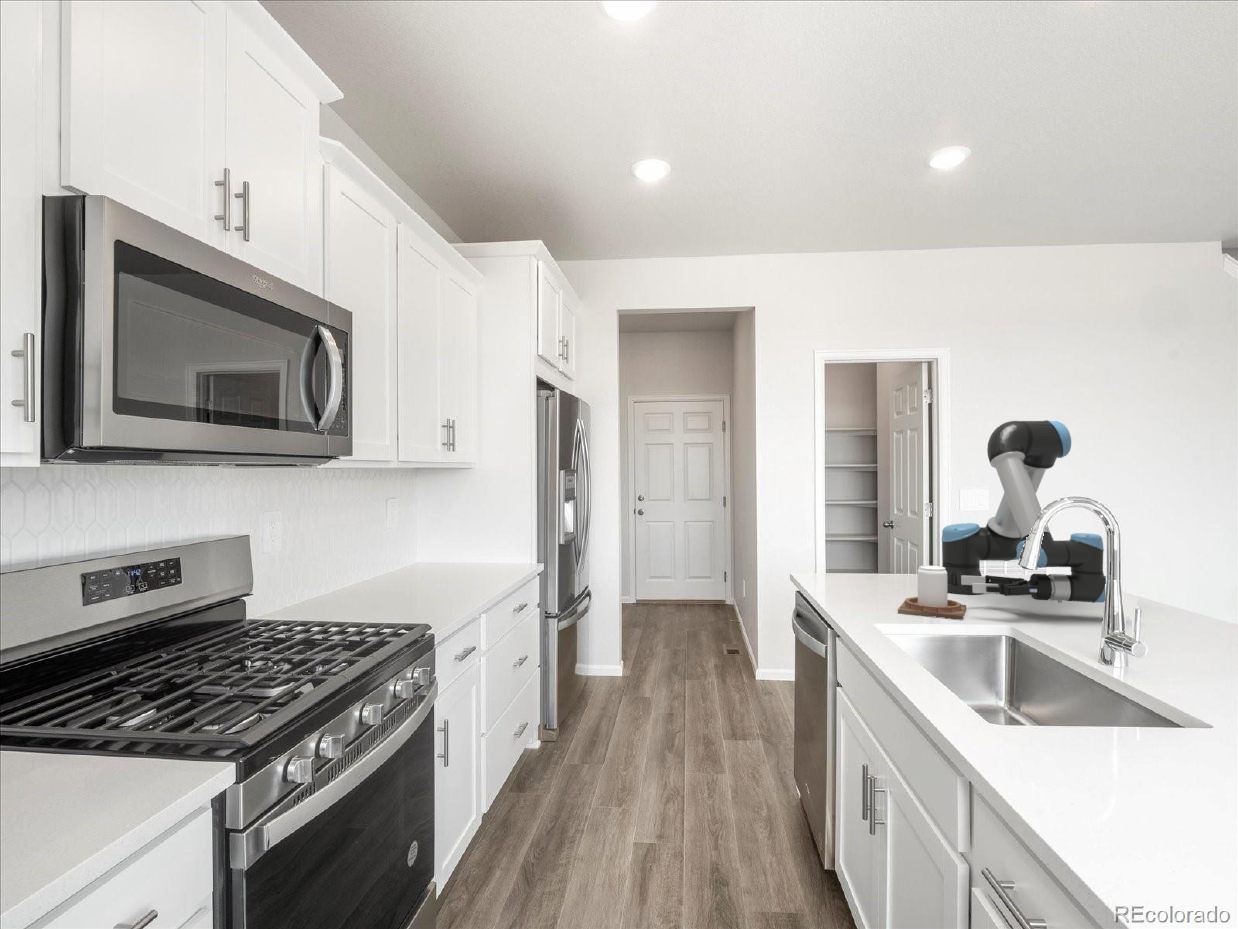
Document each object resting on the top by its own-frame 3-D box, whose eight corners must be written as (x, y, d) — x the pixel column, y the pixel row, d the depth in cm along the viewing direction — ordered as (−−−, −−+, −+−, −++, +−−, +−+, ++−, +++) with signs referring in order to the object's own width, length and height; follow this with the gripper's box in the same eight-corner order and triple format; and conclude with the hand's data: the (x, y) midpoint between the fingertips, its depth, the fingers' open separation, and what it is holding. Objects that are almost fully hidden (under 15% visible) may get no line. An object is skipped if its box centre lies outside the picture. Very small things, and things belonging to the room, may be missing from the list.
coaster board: (906, 603, 205) (906, 594, 205) (966, 608, 196) (966, 600, 196) (897, 613, 191) (897, 604, 191) (962, 620, 182) (962, 610, 182)
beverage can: (940, 604, 197) (940, 565, 197) (952, 610, 189) (951, 569, 189) (913, 604, 198) (913, 565, 198) (923, 609, 190) (923, 569, 190)
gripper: (1065, 609, 173) (978, 605, 179) (1033, 592, 197) (957, 588, 203) (1065, 581, 173) (977, 578, 179) (1033, 567, 197) (957, 565, 203)
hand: (966, 583), depth 191 cm, fingers open, 13 cm apart
